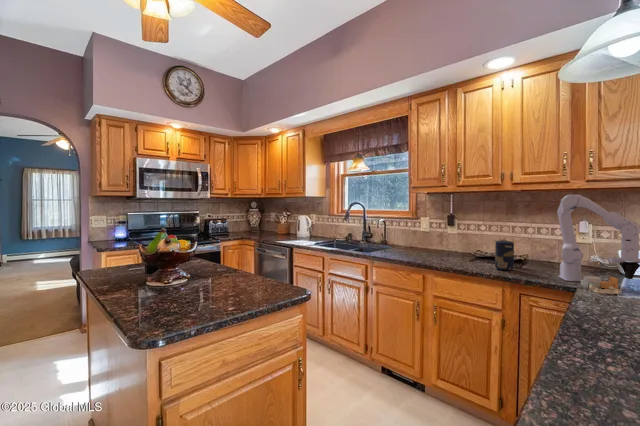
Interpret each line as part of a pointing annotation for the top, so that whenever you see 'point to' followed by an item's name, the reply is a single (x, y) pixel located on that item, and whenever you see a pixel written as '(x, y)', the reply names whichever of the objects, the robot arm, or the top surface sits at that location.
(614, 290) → the tan flat bracket
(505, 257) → the canister
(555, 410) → the top surface
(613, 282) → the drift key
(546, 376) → the top surface
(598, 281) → the grey block
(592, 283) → the socket
